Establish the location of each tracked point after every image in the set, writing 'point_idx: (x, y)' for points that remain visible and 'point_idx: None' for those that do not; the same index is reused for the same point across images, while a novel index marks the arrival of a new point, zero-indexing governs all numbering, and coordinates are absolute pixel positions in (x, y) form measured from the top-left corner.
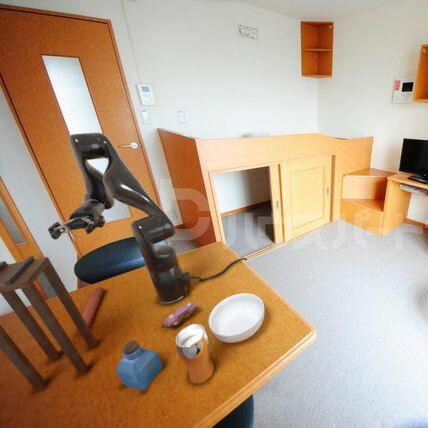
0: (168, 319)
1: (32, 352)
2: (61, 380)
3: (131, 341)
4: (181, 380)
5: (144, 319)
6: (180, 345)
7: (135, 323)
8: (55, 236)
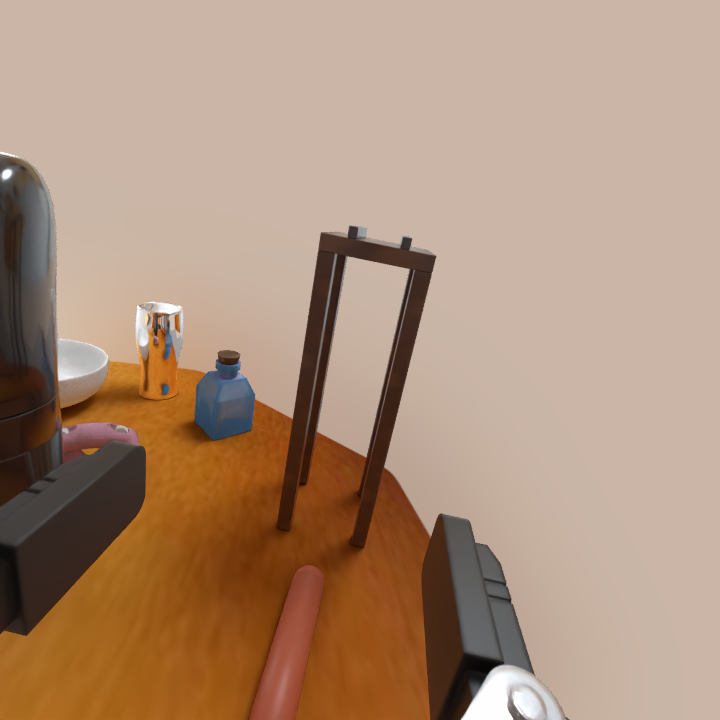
0: (131, 432)
1: (418, 596)
2: (335, 486)
3: (224, 356)
4: (186, 398)
5: (156, 530)
6: (180, 307)
7: (181, 531)
8: (432, 541)
